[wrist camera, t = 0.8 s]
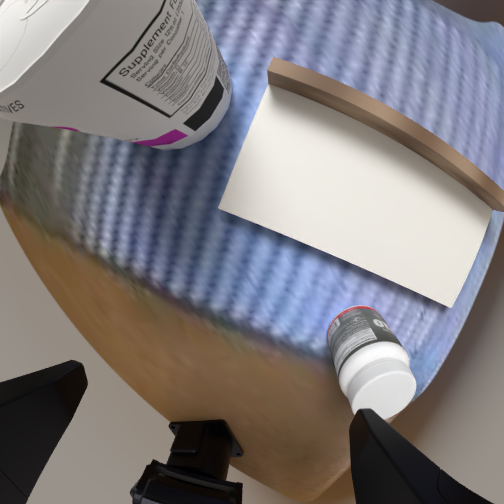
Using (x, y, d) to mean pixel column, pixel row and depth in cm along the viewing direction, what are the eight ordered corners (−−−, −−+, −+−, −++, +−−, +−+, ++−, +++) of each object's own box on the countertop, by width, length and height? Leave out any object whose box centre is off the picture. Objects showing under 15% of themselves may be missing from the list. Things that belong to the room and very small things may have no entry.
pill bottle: (390, 333, 21) (431, 397, 13) (343, 363, 22) (365, 435, 14) (366, 291, 20) (410, 350, 12) (315, 325, 21) (332, 398, 13)
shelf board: (487, 197, 17) (515, 202, 14) (444, 302, 20) (466, 321, 16) (274, 78, 17) (273, 57, 13) (221, 206, 19) (209, 212, 16)
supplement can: (158, 172, 19) (-26, 176, 5) (115, 92, 18) (-34, 36, 3) (255, 111, 18) (201, -42, 3) (200, 33, 16) (112, -99, 2)
